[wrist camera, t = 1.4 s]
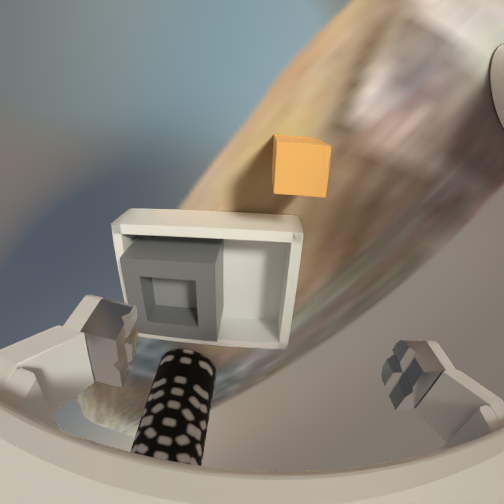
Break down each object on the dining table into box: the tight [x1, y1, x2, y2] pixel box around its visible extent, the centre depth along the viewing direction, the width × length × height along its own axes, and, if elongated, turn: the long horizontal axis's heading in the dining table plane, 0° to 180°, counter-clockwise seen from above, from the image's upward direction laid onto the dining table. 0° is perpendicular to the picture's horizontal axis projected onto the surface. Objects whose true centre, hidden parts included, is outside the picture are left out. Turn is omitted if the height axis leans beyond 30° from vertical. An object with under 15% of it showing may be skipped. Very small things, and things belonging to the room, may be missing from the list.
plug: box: [272, 135, 331, 198], centre depth 25 cm, size 4×4×7 cm
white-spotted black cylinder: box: [131, 349, 216, 466], centre depth 32 cm, size 8×8×20 cm
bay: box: [111, 209, 304, 349], centre depth 31 cm, size 18×14×7 cm
